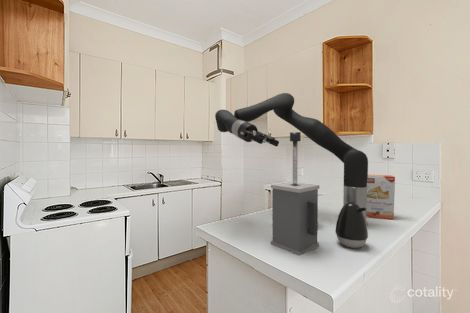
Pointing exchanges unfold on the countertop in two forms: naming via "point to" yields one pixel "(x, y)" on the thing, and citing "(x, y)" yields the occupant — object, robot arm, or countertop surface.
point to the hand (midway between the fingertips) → (270, 142)
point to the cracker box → (380, 196)
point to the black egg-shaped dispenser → (351, 226)
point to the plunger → (295, 153)
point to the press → (295, 217)
